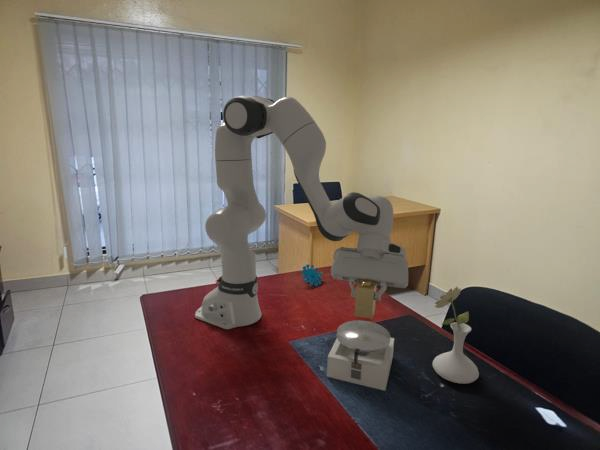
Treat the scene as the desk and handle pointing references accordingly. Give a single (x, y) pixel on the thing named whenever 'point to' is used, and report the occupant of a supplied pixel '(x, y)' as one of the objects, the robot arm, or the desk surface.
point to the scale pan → (363, 337)
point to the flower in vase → (455, 347)
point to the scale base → (360, 366)
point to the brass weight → (365, 299)
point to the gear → (311, 275)
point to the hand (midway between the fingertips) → (365, 298)
